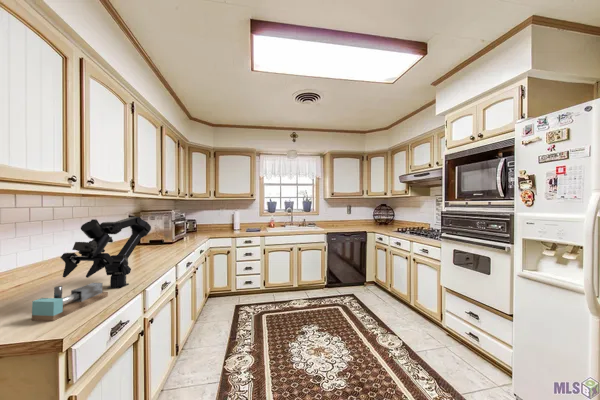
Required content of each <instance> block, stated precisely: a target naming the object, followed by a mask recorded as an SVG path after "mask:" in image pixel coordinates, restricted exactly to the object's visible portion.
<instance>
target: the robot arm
mask: <svg viewBox="0 0 600 400" xmlns="http://www.w3.org/2000/svg"><path fill="white" fill-rule="evenodd" d="M125 228H130V229H131V234H130V237H129V238H128V239H127V240H126V242H125V244H124V245H123V246H122V248H121V249H120V251H119V252H118V253H117V254H115V255H114V254H113V255H111V254H110V253H108V252H106V250H105V248H106V246H107V245H108V244H109V243H113V242H114V240H113V236H110V235H118V234H119V233H120V232H122V230H124V229H125ZM80 230H81V231H82V232H83V233H84V235H85V236H87V238H88V239H90V240H89V241H88V242H86V241H75V242H74V245H73V246H72V251H76V252H78V254H80V255H77V254H76V252H64V253H63V254H61V256H60V259H61V260H62V261H63V262H64V268H63V272H62V273H63V274H62V277H63V279H64V278H67V276H69V275H70V274H71V273H72V272H73V271H74V270H75V269H76V268H77V267H78V265H79V264H80V263H81V262H86V261H87V262H93V263H92V264H91V266H90V268H89V270H88V271H87V272H86V274H85V278H90V277H91V276H93V275H94V274H96V273H97V272H99V271H101V270H102V269H104V271H105V273H106V276H110V281H109V283H110V284H109V285H110V286H108V287H107V289H117V290H118V289H119V290H120V289H122V288H124V287H127V286H128V285H130V283H127V275H130V274H131V270H132V268H131V267H130V265H129V257H131V254H132V253H133V252H134V250H135V248H136V247H137V245H138V244H139V243H140V241H141V239H142V238H144V237H146V236H147V235H148V234H149V233H150V232H151V231H152V227H151V225H150V224H149V222H148V221H146V220H144V219H142V217H139V216H129V217H126V218H124V219H121V220H120V219H119V220H117V221H105V222H99V221H98V219H96V218H95V219H94V218H93V219H91V220H89V221H87V222H85V223H83V224H82V225H81V226H80Z"/></svg>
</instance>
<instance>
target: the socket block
mask: <svg viewBox="0 0 600 400" xmlns="http://www.w3.org/2000/svg"><path fill="white" fill-rule="evenodd" d="M31 306H32V307H31V316H32V315H42V316H54V315H57V314H59V313H61V312H63V297H62V298H54V297H53V298H52V297H41V298H38V299H35V300H32V303H31Z"/></svg>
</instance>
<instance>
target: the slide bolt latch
mask: <svg viewBox="0 0 600 400" xmlns="http://www.w3.org/2000/svg"><path fill="white" fill-rule="evenodd" d="M70 291H71V294H73V293H76V292H81V298H80V299H77V300H75V301H72V302H70V303H67V304H65V305H63V312H61V313H59V314H57V315H54V316H42V315H32V314H31V321H38V322H39V321H43V322H53V321H56V320H58V319H61V318H63V317H66V316H67V315H70V314H72V313H74V312H76V311H78V310H80V309H83V308H85V307H87V306H89V305H91V304H93V303H96V302H98V301H100V300H102V299H104V298H107V297H108V296H109V292H108V291H103V282H91V283H89V284H86V285H83V286H80V287H77V288H75V289H71V290H70ZM71 294H70V295H71Z"/></svg>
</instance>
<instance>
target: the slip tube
mask: <svg viewBox="0 0 600 400" xmlns="http://www.w3.org/2000/svg"><path fill="white" fill-rule="evenodd" d="M53 298H63V305H65V304H67V303H70V302H72V301H75V300H77V299H80V298H81V292H76V293H73V294H69V295H66V296H63V285H57V286H54V287H53Z"/></svg>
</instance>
